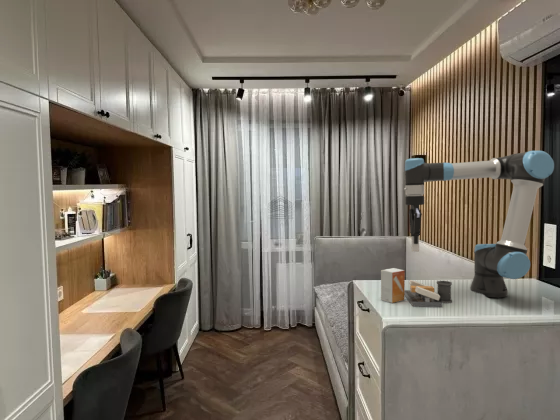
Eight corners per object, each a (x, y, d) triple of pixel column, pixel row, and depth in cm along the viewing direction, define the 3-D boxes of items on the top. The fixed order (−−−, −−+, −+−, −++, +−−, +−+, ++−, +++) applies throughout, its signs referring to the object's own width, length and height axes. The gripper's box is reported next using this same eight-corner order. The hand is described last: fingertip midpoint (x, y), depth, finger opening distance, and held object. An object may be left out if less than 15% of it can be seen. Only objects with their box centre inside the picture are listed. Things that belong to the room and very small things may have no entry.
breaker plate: (430, 295, 167) (430, 287, 167) (442, 307, 150) (442, 298, 149) (404, 294, 169) (404, 286, 169) (413, 306, 151) (412, 297, 151)
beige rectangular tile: (436, 298, 154) (437, 293, 154) (438, 300, 151) (440, 296, 151) (414, 290, 155) (416, 286, 155) (416, 292, 152) (418, 288, 152)
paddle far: (428, 290, 166) (430, 286, 166) (430, 292, 163) (432, 288, 163) (408, 283, 167) (410, 279, 167) (410, 285, 164) (411, 281, 164)
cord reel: (449, 299, 160) (449, 280, 160) (453, 303, 155) (453, 284, 154) (435, 299, 161) (435, 280, 161) (439, 303, 156) (439, 283, 155)
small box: (392, 303, 156) (392, 272, 155) (380, 300, 161) (380, 269, 161) (405, 300, 160) (405, 269, 160) (393, 297, 166) (393, 267, 165)
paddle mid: (432, 290, 160) (432, 286, 160) (434, 292, 157) (434, 288, 157) (410, 290, 161) (410, 285, 161) (411, 292, 158) (411, 287, 158)
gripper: (402, 195, 165) (403, 249, 166) (408, 195, 152) (409, 253, 153) (420, 195, 164) (420, 249, 165) (428, 195, 151) (428, 253, 152)
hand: (415, 251), depth 159 cm, fingers closed
